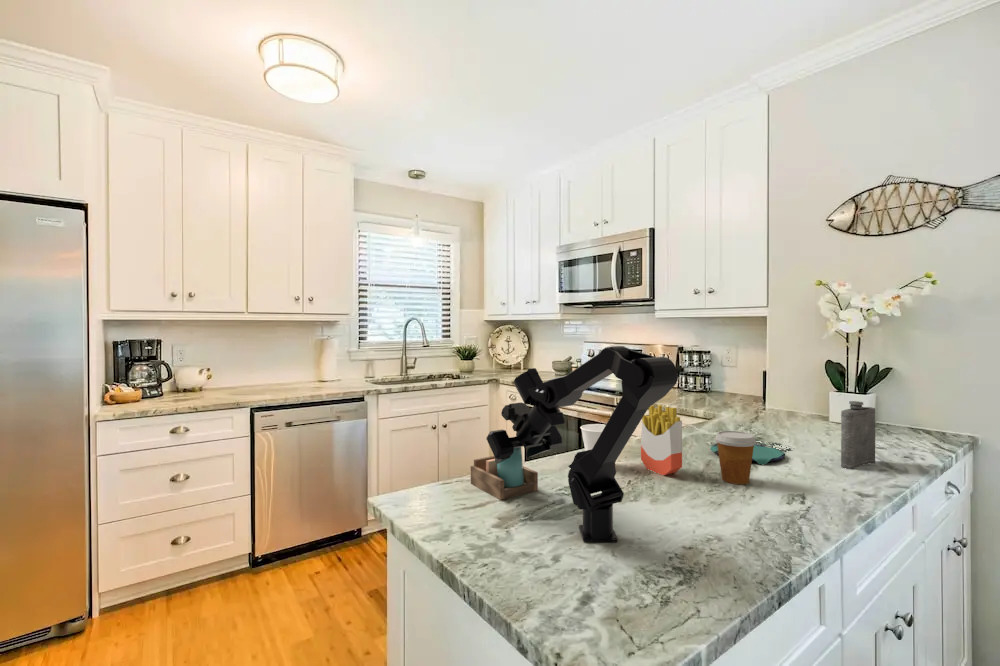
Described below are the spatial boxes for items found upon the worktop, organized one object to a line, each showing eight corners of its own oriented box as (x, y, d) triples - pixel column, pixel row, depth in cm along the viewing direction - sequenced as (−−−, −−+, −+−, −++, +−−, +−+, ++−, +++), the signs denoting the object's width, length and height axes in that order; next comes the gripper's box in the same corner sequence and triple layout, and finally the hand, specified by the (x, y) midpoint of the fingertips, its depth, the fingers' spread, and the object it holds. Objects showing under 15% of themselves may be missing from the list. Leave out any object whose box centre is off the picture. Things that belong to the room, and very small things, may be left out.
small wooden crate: (537, 490, 116) (537, 466, 116) (500, 500, 110) (500, 474, 110) (506, 475, 128) (505, 453, 128) (470, 483, 122) (470, 460, 122)
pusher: (515, 478, 121) (515, 456, 121) (488, 484, 117) (488, 461, 117) (513, 477, 122) (512, 455, 122) (486, 483, 118) (486, 460, 118)
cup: (616, 471, 130) (616, 432, 130) (580, 469, 132) (579, 430, 132) (615, 461, 140) (614, 424, 140) (581, 459, 142) (581, 423, 142)
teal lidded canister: (515, 488, 111) (511, 445, 112) (492, 486, 115) (488, 445, 116) (530, 481, 117) (526, 440, 118) (507, 480, 121) (504, 440, 121)
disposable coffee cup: (713, 483, 120) (713, 436, 120) (716, 472, 128) (716, 428, 128) (756, 489, 115) (756, 440, 115) (755, 477, 124) (755, 432, 124)
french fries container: (670, 478, 124) (669, 410, 123) (639, 468, 133) (639, 404, 133) (682, 476, 126) (682, 409, 125) (651, 465, 135) (651, 403, 135)
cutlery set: (699, 454, 147) (699, 447, 147) (743, 440, 165) (744, 434, 165) (767, 470, 131) (767, 462, 131) (808, 453, 150) (808, 446, 150)
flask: (835, 466, 133) (835, 402, 133) (862, 459, 139) (863, 398, 139) (850, 469, 130) (850, 404, 129) (877, 462, 136) (877, 400, 136)
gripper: (554, 389, 116) (528, 427, 125) (489, 396, 106) (466, 436, 115) (576, 426, 109) (547, 463, 119) (510, 438, 99) (484, 477, 108)
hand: (511, 458), depth 115 cm, fingers open, 9 cm apart
